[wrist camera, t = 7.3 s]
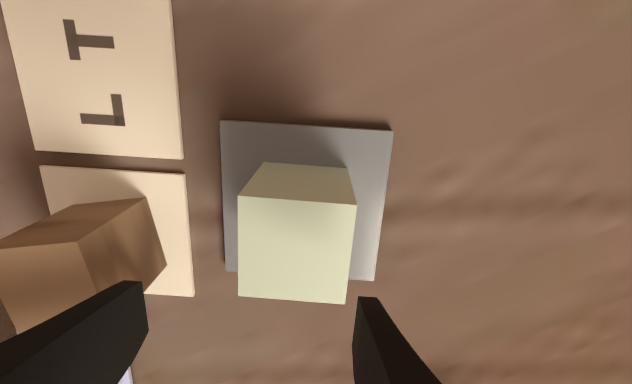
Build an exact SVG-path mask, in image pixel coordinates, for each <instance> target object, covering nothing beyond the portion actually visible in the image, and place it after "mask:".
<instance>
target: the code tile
mask: <svg viewBox="0 0 632 384" xmlns="http://www.w3.org/2000/svg"><path fill="white" fill-rule="evenodd" d="M0 3H1V7H2V11H3V15H4V20H5V24H6V28H7V32H8V37H9V41H10V45H11V49H12V54H13V58H14V62H15V66H16V71H17V75H18V79H19V83H20V88H21V92H22V96H23V100H24V105H25V109H26V113H27V117H28V122H29V126H30V130H31V134H32V139H33V143H34V147H35V150H39V151H55V152H71V153H87V154H103V155H119V156H135V157H150V158H166V159H184V153H183V141H182V129H181V116H180V104H179V91H178V79H177V67H176V54H175V42H174V29H173V17H172V5H171V0H0Z"/></svg>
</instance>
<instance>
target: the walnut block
mask: <svg viewBox="0 0 632 384" xmlns="http://www.w3.org/2000/svg"><path fill="white" fill-rule="evenodd" d="M166 266H167V262H166V259H165V256H164V252H163V249H162V246H161V243H160V239H159V236H158V233H157V230H156V226H155V223H154V220H153V217H152V213H151V210H150V207H149V204H148V200H147V197H142V198H133V199H123V200H114V201H104V202H94V203H85V204H75V205H71V206H69V207H67V208H65V209H63V210H61V211H58V212H56V213H54V214H52V215H50V216H48V217H46V218H44V219H42V220H40V221H38V222H36V223H34V224H32V225H29V226H27V227H25V228H23V229H21V230H19V231H17V232H15V233H13V234H11V235H9V236H7V237H5V238H3V239H0V299H1V301H2V303H3V305H4V307H5V309H6V311H7V313H8V315H9V317H10V318H11V320H12V322H13V324H14V326H15V328H16V330H17V332H18V334H20V333H22V332H24V331H26V330H28V329H30V328H32V327H34V326H36V325H38V324H40V323H42V322H44V321H46V320H48V319H50V318H52V317H54V316H56V315H58V314H60V313H61V312H63V311H65V310H67V309H69V308H71V307H73V306H75V305H76V304H78V303H80V302H82V301H84V300H86V299H88V298H89V297H91V296H93V295H95V294H97V293H99V292H101V291H103V290H105V289H106V288H108V287H110V286H112V285H114V284H116V283H119V282H121V281H123V280H130V281H142V285H143V292H145V291H146V289H147V288H148V287H149V286H150V285H151V284H152V282H153V281H154V280H155V279H156V278H157V277H158V276H159V274H160V273H161V272H162V271H163V270H164V269H165V267H166Z"/></svg>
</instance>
